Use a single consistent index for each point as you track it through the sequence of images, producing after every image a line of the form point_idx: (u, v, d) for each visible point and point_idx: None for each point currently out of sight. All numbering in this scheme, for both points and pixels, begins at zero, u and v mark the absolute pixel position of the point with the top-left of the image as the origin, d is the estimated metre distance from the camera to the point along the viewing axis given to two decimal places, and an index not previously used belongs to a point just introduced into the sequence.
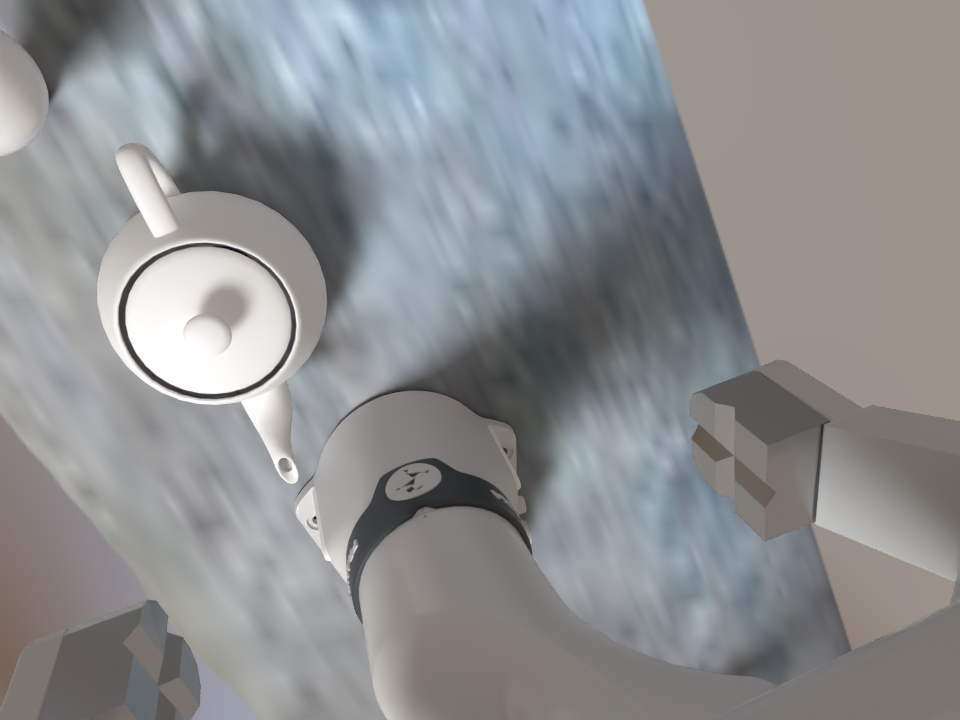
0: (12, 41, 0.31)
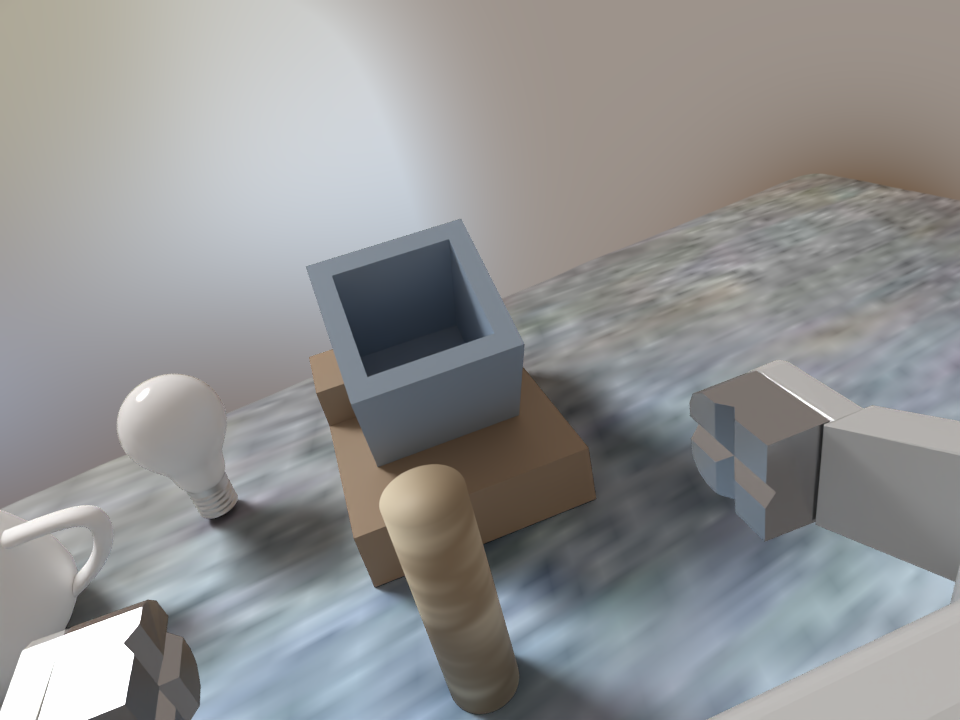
0: (190, 434, 0.39)
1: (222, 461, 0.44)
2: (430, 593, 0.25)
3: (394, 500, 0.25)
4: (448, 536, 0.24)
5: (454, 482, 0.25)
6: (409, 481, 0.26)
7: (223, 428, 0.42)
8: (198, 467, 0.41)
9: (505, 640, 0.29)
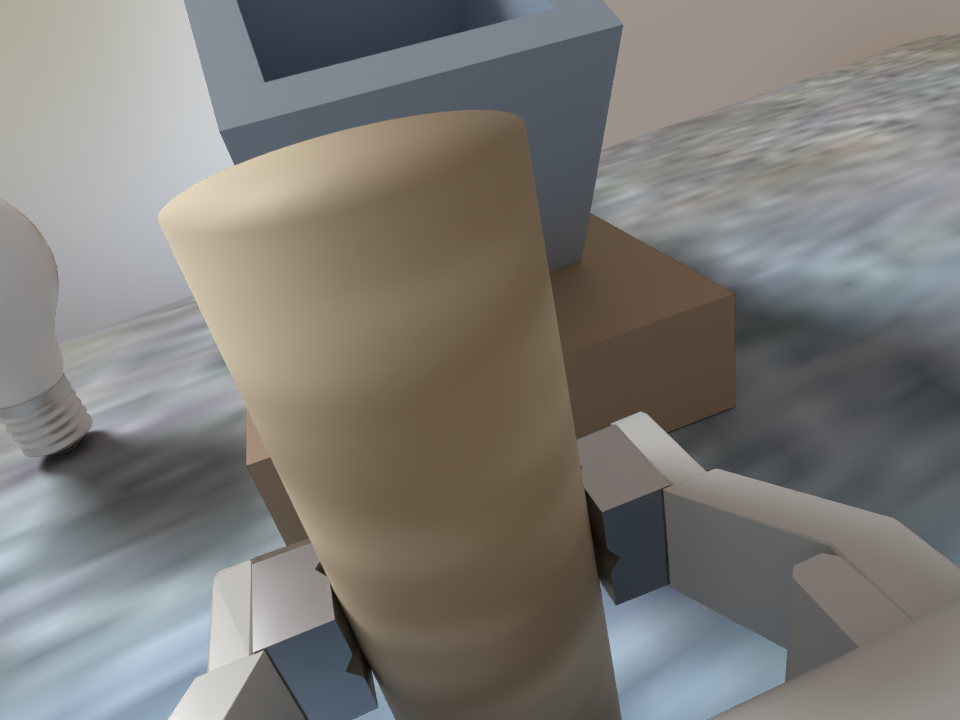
0: None
1: (53, 354, 0.25)
2: (382, 573, 0.07)
3: (230, 188, 0.06)
4: (452, 303, 0.05)
5: (476, 124, 0.06)
6: (306, 151, 0.07)
7: (42, 286, 0.23)
8: None
9: (617, 718, 0.10)
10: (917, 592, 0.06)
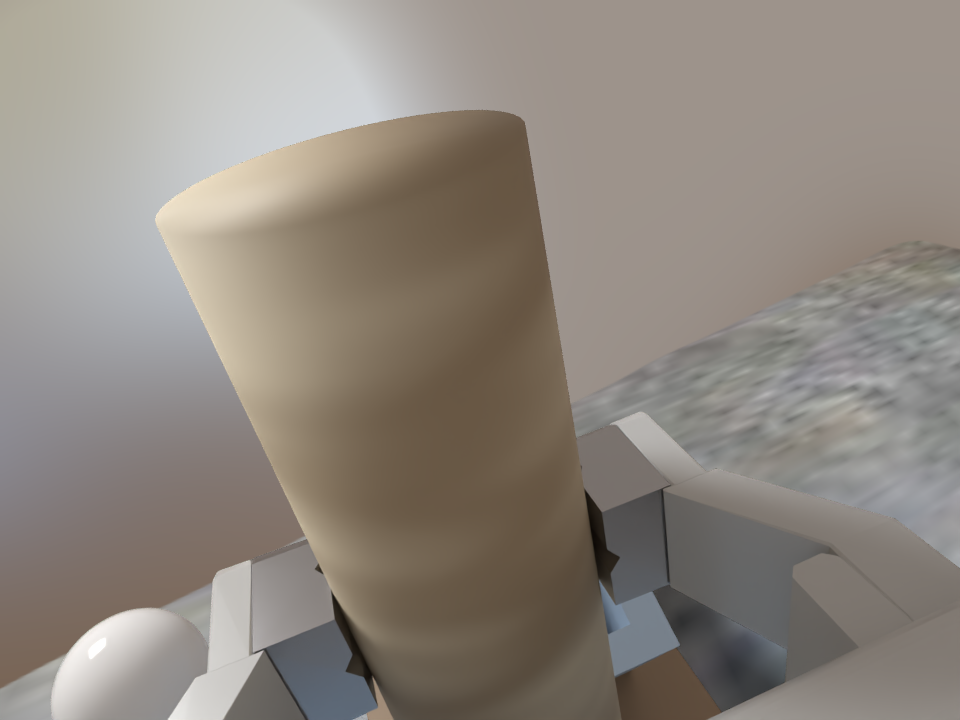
0: None
1: None
2: (380, 577, 0.07)
3: (227, 189, 0.06)
4: (451, 305, 0.05)
5: (475, 125, 0.06)
6: (304, 152, 0.07)
7: None
8: None
9: None
10: (917, 592, 0.06)
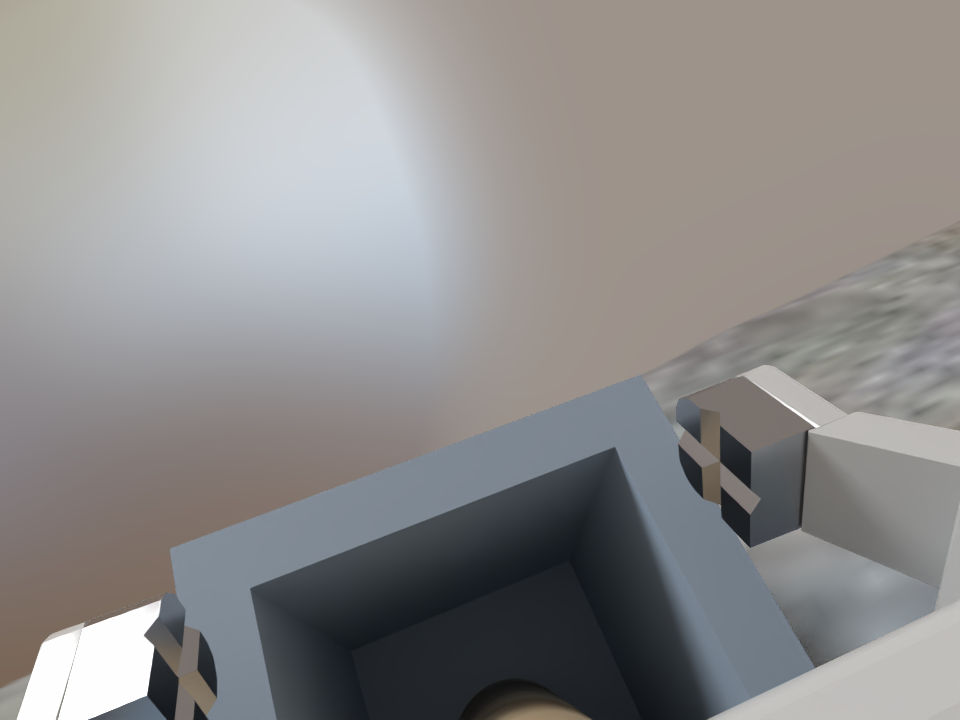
0: None
1: None
2: None
3: None
4: None
5: None
6: None
7: None
8: None
9: None
10: None
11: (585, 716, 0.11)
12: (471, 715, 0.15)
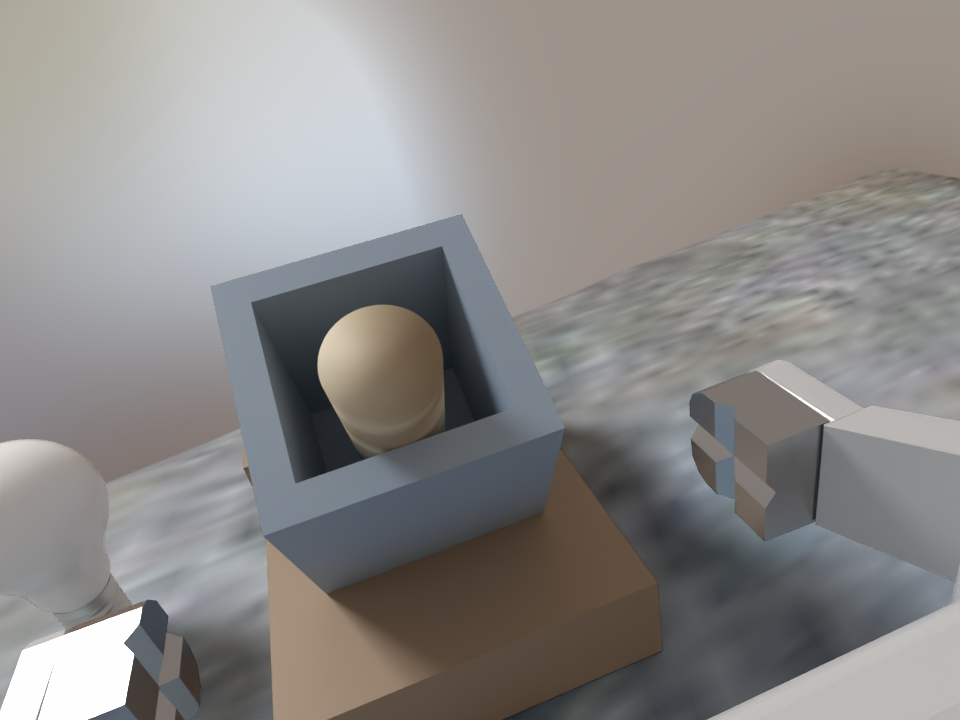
0: (36, 541, 0.25)
1: (103, 566, 0.30)
2: (377, 452, 0.21)
3: (340, 365, 0.18)
4: (414, 420, 0.18)
5: (426, 346, 0.18)
6: (360, 332, 0.18)
7: (99, 522, 0.28)
8: (57, 583, 0.27)
9: None
10: None
11: None
12: None
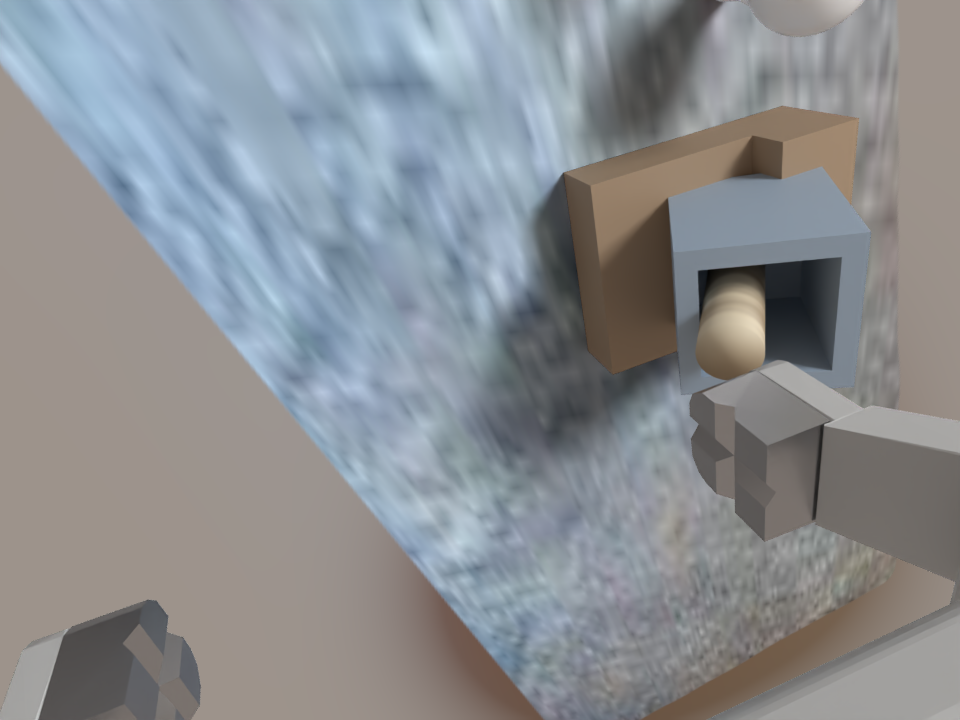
0: (768, 12, 0.34)
1: None
2: (705, 304, 0.37)
3: (734, 336, 0.33)
4: None
5: (728, 374, 0.35)
6: (750, 349, 0.34)
7: None
8: None
9: None
10: None
11: None
12: (762, 266, 0.40)
